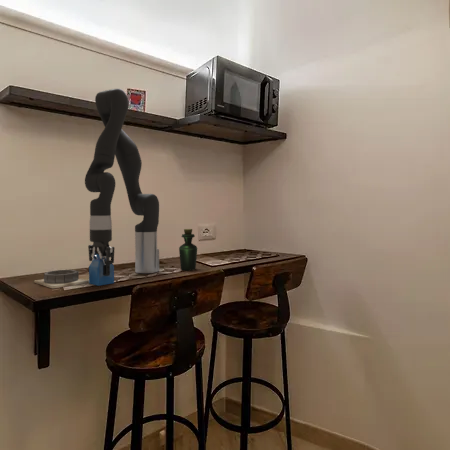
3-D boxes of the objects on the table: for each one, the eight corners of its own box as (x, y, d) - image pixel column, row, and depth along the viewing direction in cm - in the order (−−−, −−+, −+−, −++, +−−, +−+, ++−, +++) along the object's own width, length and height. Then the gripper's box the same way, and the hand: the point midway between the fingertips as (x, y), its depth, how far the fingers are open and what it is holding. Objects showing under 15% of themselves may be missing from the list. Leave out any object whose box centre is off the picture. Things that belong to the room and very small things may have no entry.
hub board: (69, 277, 139) (69, 267, 139) (88, 282, 130) (88, 272, 129) (34, 282, 130) (34, 272, 129) (52, 288, 120) (52, 277, 120)
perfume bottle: (104, 280, 133) (104, 248, 132) (114, 283, 129) (113, 250, 128) (89, 283, 128) (88, 250, 128) (98, 285, 124) (98, 251, 124)
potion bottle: (187, 271, 153) (187, 229, 152) (175, 269, 158) (175, 229, 157) (201, 269, 159) (201, 229, 158) (188, 267, 164) (188, 228, 163)
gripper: (121, 228, 126) (121, 275, 127) (99, 227, 135) (100, 271, 136) (101, 229, 120) (102, 278, 121) (80, 228, 130) (81, 273, 130)
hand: (101, 274), depth 128 cm, fingers closed on perfume bottle, 6 cm apart
